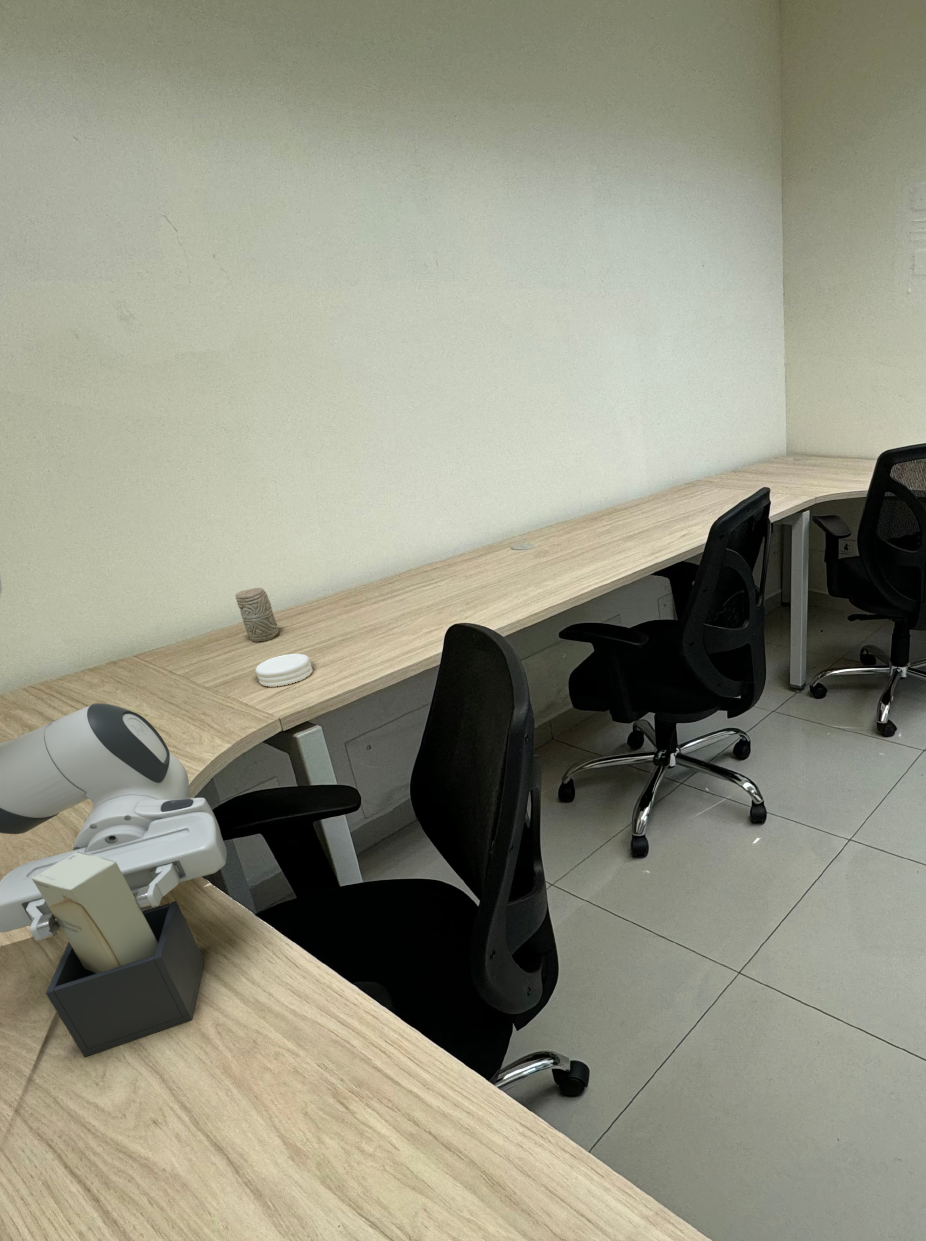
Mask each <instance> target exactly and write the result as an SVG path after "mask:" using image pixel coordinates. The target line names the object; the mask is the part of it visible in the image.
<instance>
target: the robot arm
mask: <svg viewBox="0 0 926 1241" xmlns="http://www.w3.org/2000/svg"><path fill="white" fill-rule="evenodd" d="M2 579H3V578H2V574H1V573H0V597H1V596H2V592H3V591H2V590H3V580H2ZM189 796H190V782H189V776H188V772H187V770H186V768H185V766H184V764H183V763H182V762H181V761H180V760H179V759H178V758H177V757H176V756H175V755H174V754H172V753H170V750H169V748H168V745H167V744H166V742H165V740H164V739H163V737H162V736H161V734H160V733H159V731H158V730H157V729H156V727H154V726H153V725H152V724H151V723H150V722H149V721H148V720H147V719H146V718H145V717H143V715H141V714H139V713H137V712H135V711H133V710H129V709H127V708H124V707H121V706H117V705H114V704H109V703H102V702H101V703H100V702H96V703H92V704H90V705H88V706H86V707H83V708H80V709H78V710H76V711H73V712H71V713H69V714H66V715H64V716H62V717H59V718H57V719H54V720H52V721H50V722H49V723H47V724H45V725H43V726H41V727H37V728H36V729H33V730H31V731H29V732H26V733H24V734H22V735H19V736H17V737H15V738H12V739H9V740H8V741H5V742H0V834H2V835H3V834H6V835H21V834H25V833H27V832H29V831H31V830H33V829H35V828H36V827H38V826H40V825H42V824H43V823H45V822H47V821H49V820H51V819H52V818H54V817H56V816H57V815H59V814H60V813H62V812H64V811H66V810H68V809H70V808H72V807H75V806H76V805H77V806H78V805H79V804H81V803H83V802H85V801H87V800H90V801H91V803H92V809H91V810H90V812H89V813H88V815H87V817H86V818H85V821H84V822H83V825H82V827H81V828H80V830H79V833H78V835H77V836H76V838H75V840H74V842H73V847H72V850H69V851H66V852H63V853H62V852H61V853H58V854H54V855H51V856H50V855H49V856H45V857H43V858H39V859H35V860H32V861H28V862H25V863H23V864H21V865H18V866H16V867H15V868H13V869H12V870H10V871H9V872H8V873H6V874H5V876H3V877H2V878H1V879H0V933H8V932H11V931H15V930H18V929H22V928H26V927H29V932H30V934H31V936H32V937H33V940H34V941H35V942H39V941H43V940H45V939H50V938H53V937H55V936H57V935H58V932H59V930H60V929H61V927H60V925H59V924H58V922H57V920H56V919H55V917H54V915H53V913H52V912H51V910H50V908H49V907H48V905H47V903H46V902H45V900H44V898H43V896H42V895H41V893H40V892H39V890H38V888H37V887H36V885H35V883H34V882H33V880H32V878H31V877H32V876H34V875H36V874H38V873H39V872H41V871H43V870H44V869H46V868H48V867H50V866H51V865H53V864H55V863H56V862H58V861H60V860H62V859H63V858H65V857H67V856H69V855H70V854H72V853H74V852H75V851H80V852H84V853H88V854H92V855H97V856H100V857H103V858H107V859H110V860H114V861H116V863H117V865H118V867H119V869H120V871H121V872H122V874H123V876H124V878H125V880H126V882H127V884H128V886H129V888H130V890H131V892H132V894H133V896H134V897H135V899H136V902H137V904H138V905H139V908H140V910H141V911H144V910H148V909H151V908H155V907H158V906H160V904H161V901H162V898H163V897H165V896H166V895H167V894H168V893H170V892H171V891H172V890H173V889H175V888H176V887H177V886H178V884H181V883H184V882H188V881H192V880H194V879H198V878H201V877H205V876H209V875H213V874H215V873H217V872H218V871H220V870H221V869H223V867H224V866H225V865H226V863H227V854H228V853H227V847H226V844H225V841H224V839H223V837H222V833H221V829H220V826H219V823H218V820H217V818H216V815H215V813H214V812H213V809H212V807H211V806H210V805H209V803H208V801H207V799H206V798H205V797H189Z"/></svg>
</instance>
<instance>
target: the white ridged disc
mask: <svg viewBox="0 0 926 1241" xmlns="http://www.w3.org/2000/svg"><path fill="white" fill-rule="evenodd" d="M255 673H256V675H257V679H258V682H259V684H260V685H261V686H264V687H267V686H268V688H276V687H277V686H278V687H284V685H285V686H289V685H293V684H296V683H299V682H301V681H303V680H305V679H307V678H308V677H310V675H312V673H313V667H312V663H311V661H310V658H309V656H308V655H306V654H303V653H289V654H283V655H278V656H275V657H271V658H269V659H266V660H264V661H262V662H261V663H259V664H258V665H257V666H256V668H255ZM306 677H307V678H306ZM298 681H299V682H298ZM295 682H296V683H295ZM292 683H293V684H292ZM288 684H289V685H288Z"/></svg>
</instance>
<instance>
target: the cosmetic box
mask: <svg viewBox="0 0 926 1241" xmlns="http://www.w3.org/2000/svg"><path fill="white" fill-rule="evenodd" d="M31 878H32V880H33V882H34V883H35V885H36V887H37V888H38V890H39V892H40V893H41V895H42V896H43V898H44V900H45V902H46V903H47V905H48V907H49V908H50V910H51V912H52V913H53V915H54V917H55V920H56V921H57V922H58V924H59V925H60V929H61V930H62V933H63V934H64V936H65V938H66V939H67V942H69V943H70V944H71V946H72V948H73V950H74V951H75V953H76V955H77V956H78V958H79V960H80V962H81V963H82V965H83V967H84V968H85V969H87V970H89V971H92V972H94V973H100V972H104V971H107V970H110V969H113V968H116V967H120V966H123V965H126V964H129V963H132V962H135V961H139V960H142V959H145V958H148V957H151V956H155V953H156V950H157V946H158V942H157V940H156V938H155V936H154V934H153V932H152V930H151V929H150V927H149V925H148V923H147V921H146V919H145V917H144V915H143V913H142V911H143V910H140V908H139V907H140V905H139V904H137V902H136V897H135V896H133V894H132V892H131V890H130V888H129V886H128V884H127V882H126V880H125V878H124V876H123V874H122V872H121V871H120V869H119V867H118V865H117V863H116V861H114V860H110V859H107V858H103V857H100V856H97V855H92V854H88V853H84V852H80V851H75V852H74V853H72V854H70V855H69V856H67V857H65V858H63V859H62V860H60V861H58V862H56V863H55V864H53V865H51V866H50V867H48V868H46V869H44V870H43V871H41V872H39V873H38V874H36V875H34V876H32V877H31Z"/></svg>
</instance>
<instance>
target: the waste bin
mask: <svg viewBox="0 0 926 1241" xmlns="http://www.w3.org/2000/svg"><path fill="white" fill-rule="evenodd" d="M141 911H142V913H143V915H144V917H145V919H146V921H147V923H148V925H149V927H150V929H151V930H152V932H153V934H154V936H155V938H156V940H157V942H158V946H157V950H156V953H155V956H151V957H148V958H145V959H142V960H139V961H135V962H132V963H129V964H126V965H123V966H120V967H116V968H113V969H110V970H107V971H104V972H100V973H94V972H92V971H89V970H87V969H85V968H84V967H83V965H82V963H81V962H80V960H79V958H78V956H77V955H76V953H75V951H74V950H73V948H72V946H71V944H70V943H69V941H67V942H68V943H67V945H66V947H65V949H64V952H63V954H62V956H61V958H60V960H59V963H58V964H57V967H56V970H55V972H54V973H53V976H52V978H51V980H50V983H49V985H48V987H47V990H46V992H45V994H46V996H47V998H48V1000H49V1001H50V1003H51V1004H52V1006H53V1008H54V1009H55V1011H56V1013H57V1014H58V1016H59V1018H60V1020H61V1021H62V1023H63V1025H64V1026H65V1028H66V1029H67V1031H68V1033H69V1035H70V1036H71V1039H73V1041H74V1043H75V1044H76V1046H77V1048H78V1049H79V1051H80V1053H81V1055H82V1056H83V1058H87V1057H89V1056H92V1055H95V1054H97V1053H100V1052H103V1051H107V1050H109V1049H112V1048H115V1047H118V1046H121V1045H123V1044H124V1045H125V1044H126V1043H129V1042H132V1041H135V1040H139V1039H141V1038H144V1037H146V1036H149V1035H152V1034H155V1033H158V1032H162V1031H164V1030H167V1029H170V1028H173V1027H175V1026H178V1025H181V1024H184V1023H187V1022H190V1021H193V1018H194V1013H195V1007H196V1003H197V998H198V994H199V993H198V992H199V988H200V984H201V979H202V975H203V970H204V965H205V958H204V956H203V954H202V952H201V950H200V948H199V946H198V944H197V942H196V939H195V937H194V935H193V933H192V931H191V929H190V926H189V925H188V924H189V923H188V922H187V920H186V918H185V916H184V914H183V912H182V908H181V907H180V906H179V903H178V901H177V900H175V901H171V902H168V903H165V904H162V905H159V906H156V907H152V908H149V909H145V910H141Z"/></svg>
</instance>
